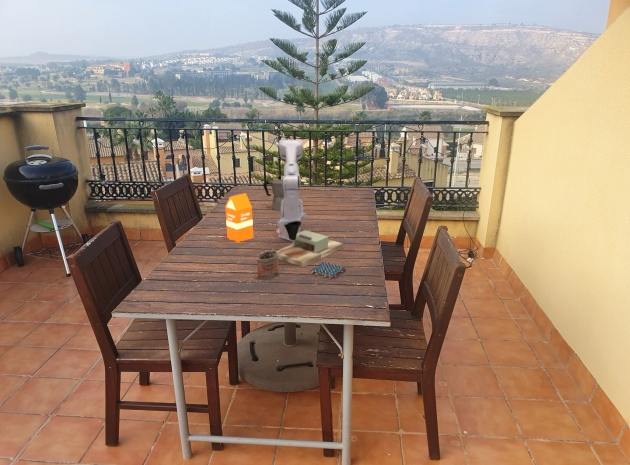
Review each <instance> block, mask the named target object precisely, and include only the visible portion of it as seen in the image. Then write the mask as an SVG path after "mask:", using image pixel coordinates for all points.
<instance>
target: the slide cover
mask: <svg viewBox="0 0 630 465" xmlns="http://www.w3.org/2000/svg"><path fill="white" fill-rule="evenodd" d="M328 240H329V236H327V235H323V234H320V233H316V232H312V231H309V230H306V229H305V230H302V231H300V233H297V235H296V239H295V240H293V241H292V244H293V246H296V245H298V244H301V243H303V242H305V243H309V244H312V245H314V253H317V252H319V251H321V250H323V249H326V248H328Z"/></svg>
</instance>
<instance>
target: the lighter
mask: <svg viewBox="0 0 630 465" xmlns="http://www.w3.org/2000/svg"><path fill="white" fill-rule="evenodd" d="M276 251H277V250H276V249H269V250H266V249H265V250H264V251H261V252H259V257H256V261H257V279H258V280H265V279H272V278H275V277H278V276H279V274H280V273H279V259H278V255H273V254H275V253H276Z"/></svg>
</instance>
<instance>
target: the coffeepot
mask: <svg viewBox="0 0 630 465" xmlns="http://www.w3.org/2000/svg"><path fill="white" fill-rule="evenodd" d="M262 184H263V185H262V186H263V188H264V191H265V193H266V196H267V197H271V196H272V194H273V198H272V204H271V209H272V210H273V211H277V212H281V202H282V200H283V199H284V196H285V195H284V190H283V178H282V176H281V175H278V176H277V179H273V180H266V181H265V182H264V183H262ZM267 185H270V186H271V189H272V190H271V191H272V193H270V192H269V190H268V186H267ZM285 189H286V188H285ZM283 207H284V206H283Z"/></svg>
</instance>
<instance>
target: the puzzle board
mask: <svg viewBox="0 0 630 465" xmlns="http://www.w3.org/2000/svg"><path fill="white" fill-rule="evenodd" d="M343 248H344V243H342V242H338V241H335V240H331V239H328V248H326V249H323V250H321V251H319V252H317V253H314V250H313V251H309V250H306V249H303V243H301V244H298V245H296V246H293V243H292V244H290V245H288V246H285V247H282V248H281V249H278V250H276V253H275V254H273V255H278V260H280V261H283V262H286V263H289V264H291V265H295V266H298V267H301V268H305V267H307V266H308V265H311V264H313V263H315V262H317V261H319V260H321V259H323V258H325V257H327V256H330V255H331V254H333V253H336V252H337V251H340V250H341V249H343Z"/></svg>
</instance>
